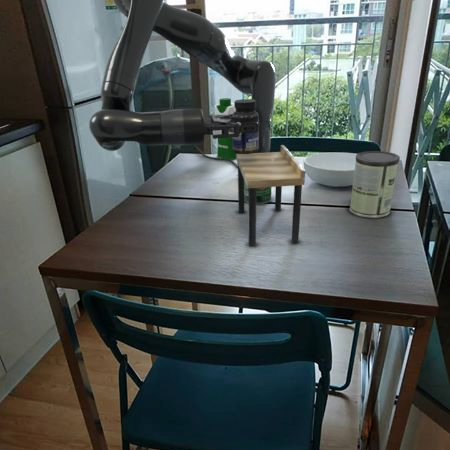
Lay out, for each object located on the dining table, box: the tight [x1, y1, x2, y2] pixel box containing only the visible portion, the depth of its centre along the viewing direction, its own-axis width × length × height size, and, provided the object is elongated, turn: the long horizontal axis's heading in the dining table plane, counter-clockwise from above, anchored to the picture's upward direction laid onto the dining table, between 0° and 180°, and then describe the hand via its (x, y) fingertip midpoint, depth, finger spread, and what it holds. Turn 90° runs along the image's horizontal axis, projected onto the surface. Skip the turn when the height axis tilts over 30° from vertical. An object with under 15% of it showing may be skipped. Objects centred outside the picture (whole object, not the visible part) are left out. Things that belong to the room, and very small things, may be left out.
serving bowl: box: [303, 151, 358, 188], centre depth 133 cm, size 21×21×7 cm
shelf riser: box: [235, 144, 306, 247], centre depth 104 cm, size 22×12×17 cm, turn 5°
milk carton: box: [213, 97, 236, 161], centre depth 160 cm, size 9×9×20 cm
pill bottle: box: [232, 98, 259, 154], centre depth 100 cm, size 6×6×11 cm
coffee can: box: [349, 150, 401, 219], centre depth 111 cm, size 10×10×14 cm
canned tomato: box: [244, 180, 272, 205], centre depth 122 cm, size 8×8×11 cm
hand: (255, 124), depth 100 cm, fingers closed on pill bottle, 6 cm apart
